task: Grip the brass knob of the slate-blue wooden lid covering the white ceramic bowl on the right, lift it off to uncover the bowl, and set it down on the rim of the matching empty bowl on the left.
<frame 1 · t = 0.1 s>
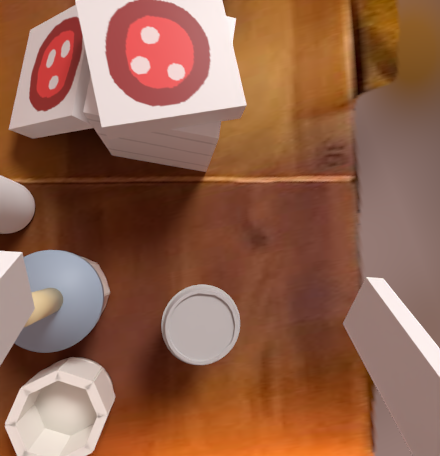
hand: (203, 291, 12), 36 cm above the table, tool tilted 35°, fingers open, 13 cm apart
disposable coffee cup: (195, 307, 47), on the table
pizza boxes: (132, 114, 48), on the table
milk bottle: (9, 208, 45), on the table
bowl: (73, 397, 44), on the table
lid: (52, 299, 39), point 6 cm above the table, touching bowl
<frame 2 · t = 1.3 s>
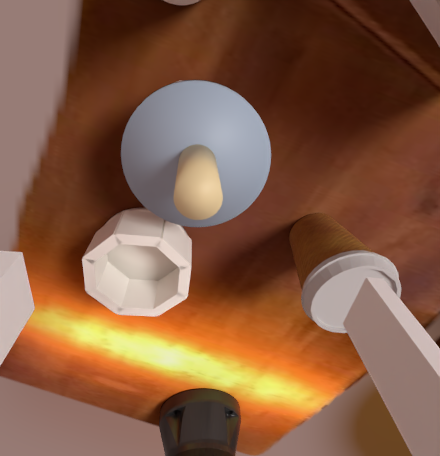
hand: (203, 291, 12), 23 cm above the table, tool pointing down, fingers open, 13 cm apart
disposable coffee cup: (312, 233, 39), on the table
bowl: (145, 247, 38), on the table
lid: (197, 159, 27), point 6 cm above the table, touching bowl
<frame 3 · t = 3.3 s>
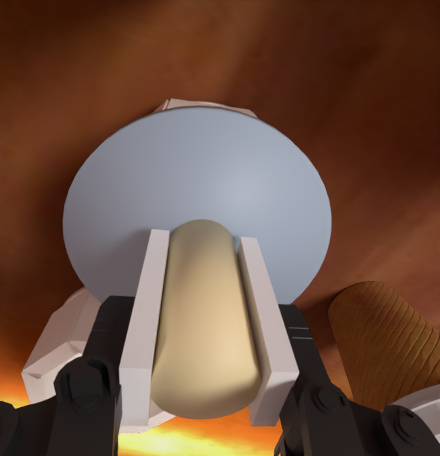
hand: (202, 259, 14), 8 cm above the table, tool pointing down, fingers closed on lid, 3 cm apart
disposable coffee cup: (360, 305, 28), on the table
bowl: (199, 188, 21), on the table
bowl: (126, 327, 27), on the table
lid: (201, 236, 15), point 6 cm above the table, touching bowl, gripper
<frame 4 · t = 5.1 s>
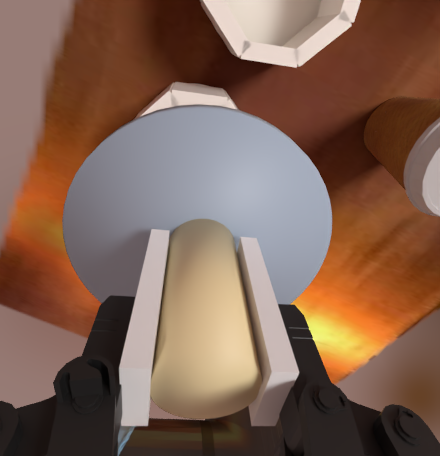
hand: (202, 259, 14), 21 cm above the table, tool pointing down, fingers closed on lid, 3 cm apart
disposable coffee cup: (391, 127, 33), on the table
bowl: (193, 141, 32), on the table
lid: (201, 236, 15), point 19 cm above the table, touching gripper
when the fingers open (9 cm above the table, at t = 6.9 s): lid drops 2 cm, resting on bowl.
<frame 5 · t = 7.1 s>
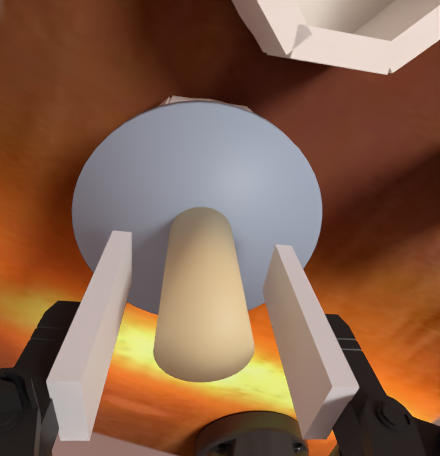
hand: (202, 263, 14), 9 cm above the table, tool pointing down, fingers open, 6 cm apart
lid: (200, 224, 16), point 6 cm above the table, touching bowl
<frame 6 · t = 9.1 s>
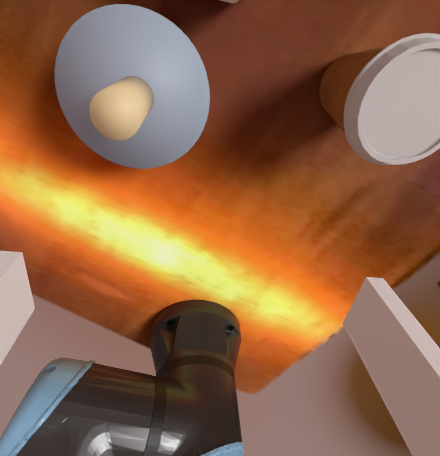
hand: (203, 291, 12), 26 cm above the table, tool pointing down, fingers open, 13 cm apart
disposable coffee cup: (347, 86, 33), on the table
lid: (136, 95, 26), point 6 cm above the table, touching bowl
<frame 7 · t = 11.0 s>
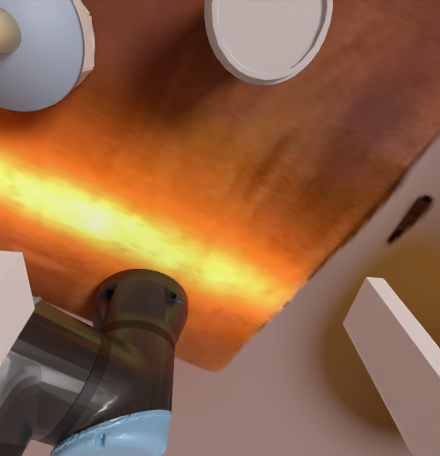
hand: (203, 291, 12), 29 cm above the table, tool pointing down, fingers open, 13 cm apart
disposable coffee cup: (247, 23, 32), on the table
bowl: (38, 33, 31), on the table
lid: (6, 30, 26), point 6 cm above the table, touching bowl
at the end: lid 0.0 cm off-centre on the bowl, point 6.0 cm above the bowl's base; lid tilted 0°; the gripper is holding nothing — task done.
